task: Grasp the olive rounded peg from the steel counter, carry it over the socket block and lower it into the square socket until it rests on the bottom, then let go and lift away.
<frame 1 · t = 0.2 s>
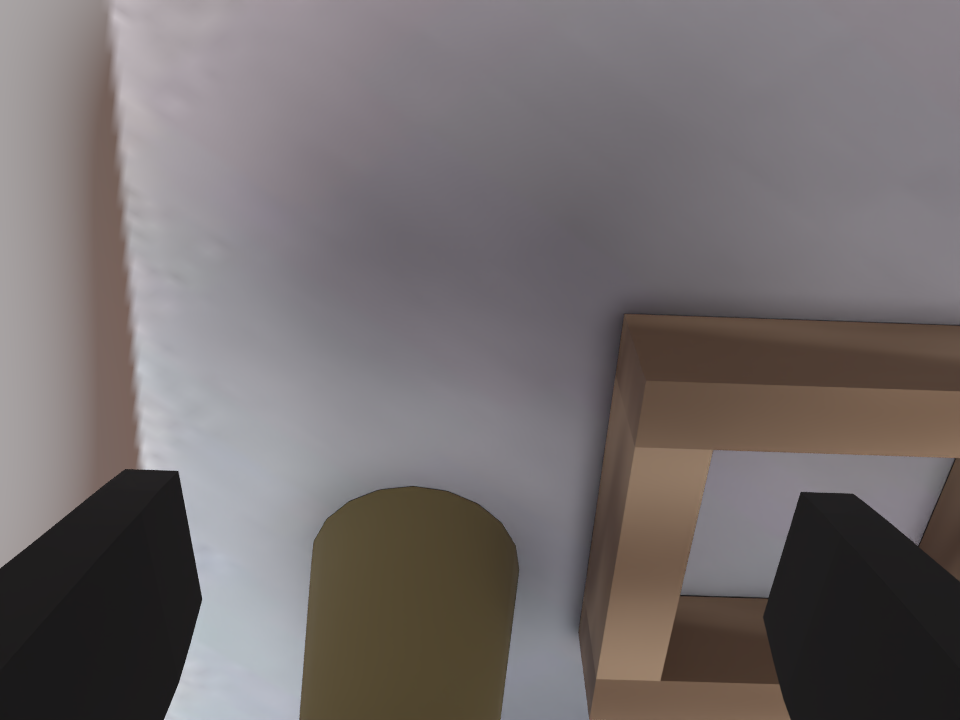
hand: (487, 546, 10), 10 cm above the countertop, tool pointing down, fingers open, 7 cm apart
socket block: (799, 500, 22), on the countertop
olive rounded peg: (415, 562, 24), on the countertop
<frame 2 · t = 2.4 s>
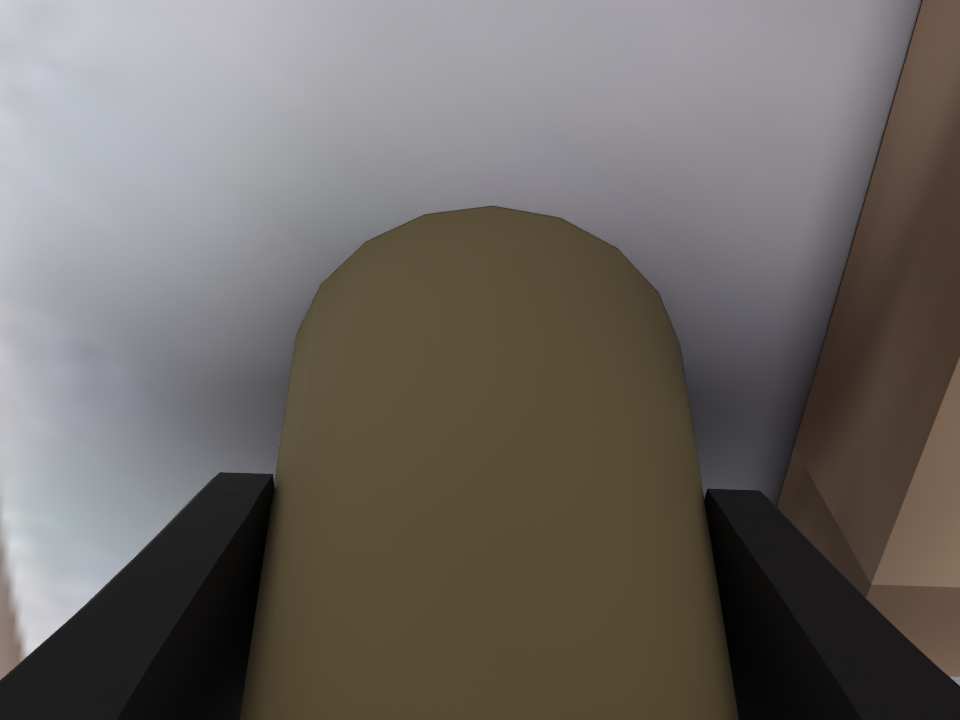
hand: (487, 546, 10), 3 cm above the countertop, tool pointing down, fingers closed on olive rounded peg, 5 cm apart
olive rounded peg: (486, 386, 13), on the countertop, touching gripper
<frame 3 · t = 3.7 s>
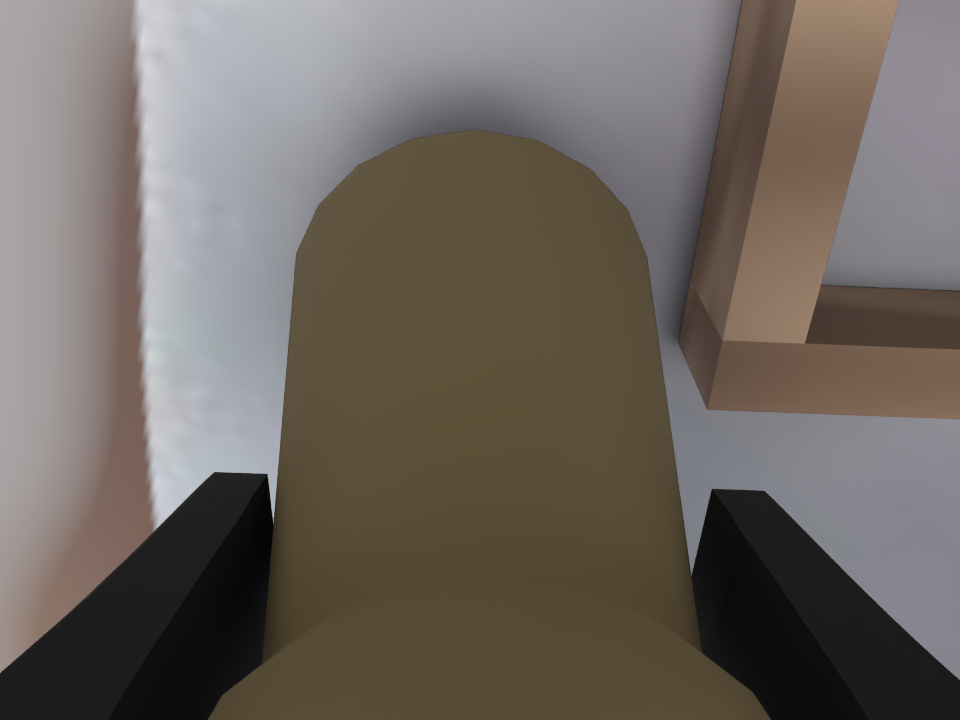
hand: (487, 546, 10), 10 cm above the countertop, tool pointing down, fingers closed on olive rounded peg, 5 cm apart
olive rounded peg: (471, 299, 14), point 5 cm above the countertop, touching gripper
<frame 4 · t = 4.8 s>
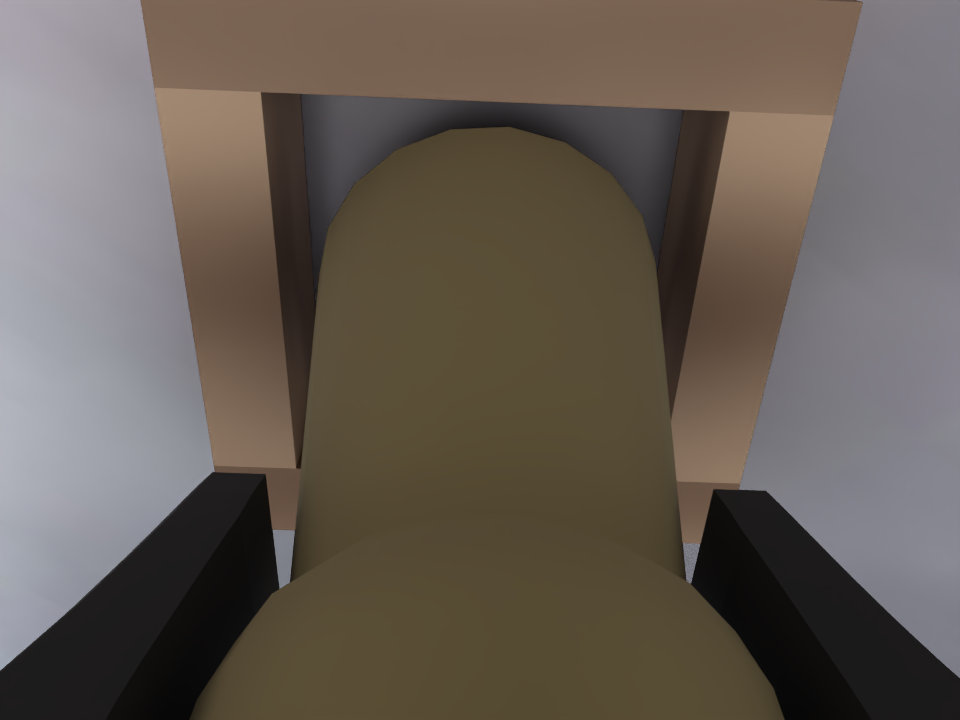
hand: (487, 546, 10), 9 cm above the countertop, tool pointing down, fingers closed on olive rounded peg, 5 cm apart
socket block: (485, 249, 18), on the countertop
olive rounded peg: (487, 287, 15), point 3 cm above the countertop, touching gripper
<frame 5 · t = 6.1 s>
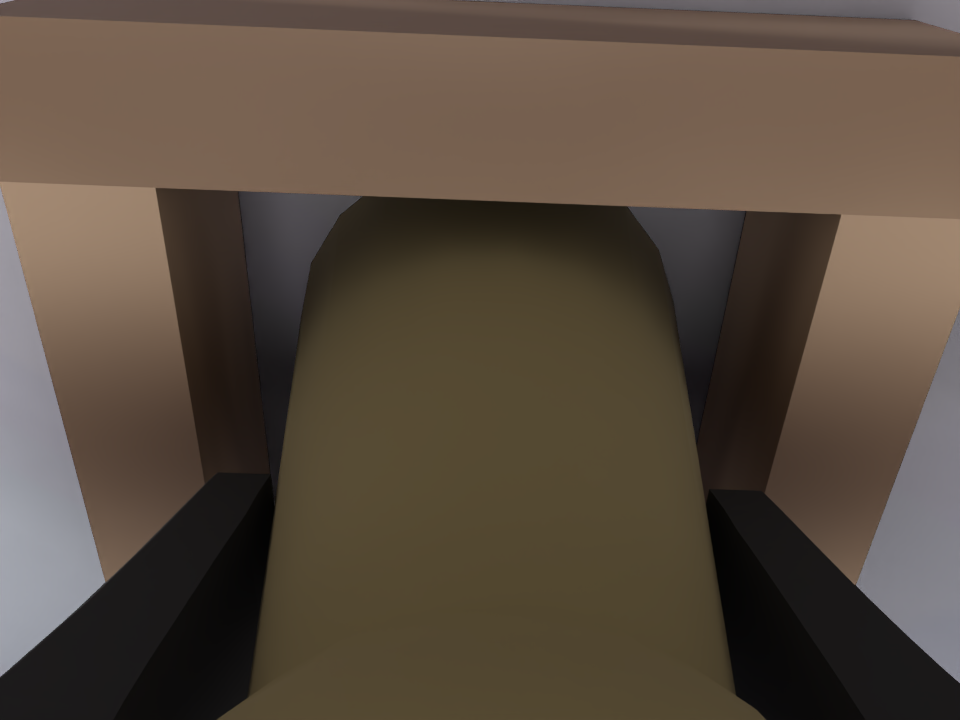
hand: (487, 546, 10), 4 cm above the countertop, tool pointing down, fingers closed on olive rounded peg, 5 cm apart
socket block: (485, 361, 13), on the countertop
olive rounded peg: (487, 328, 13), resting in socket block, touching gripper
when the fingers open (4 cm above the countertop, at t = 6.7 s): olive rounded peg stays where it is, resting in socket block.
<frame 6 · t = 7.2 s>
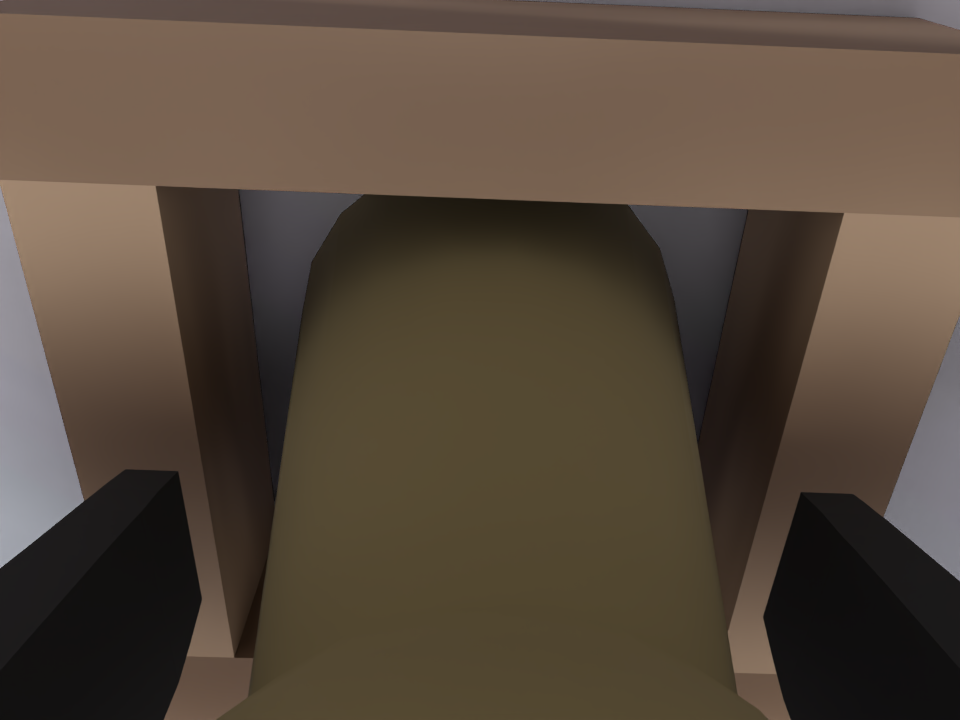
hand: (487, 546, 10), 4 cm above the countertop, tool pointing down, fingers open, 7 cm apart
socket block: (486, 360, 13), on the countertop
olive rounded peg: (488, 327, 13), resting in socket block
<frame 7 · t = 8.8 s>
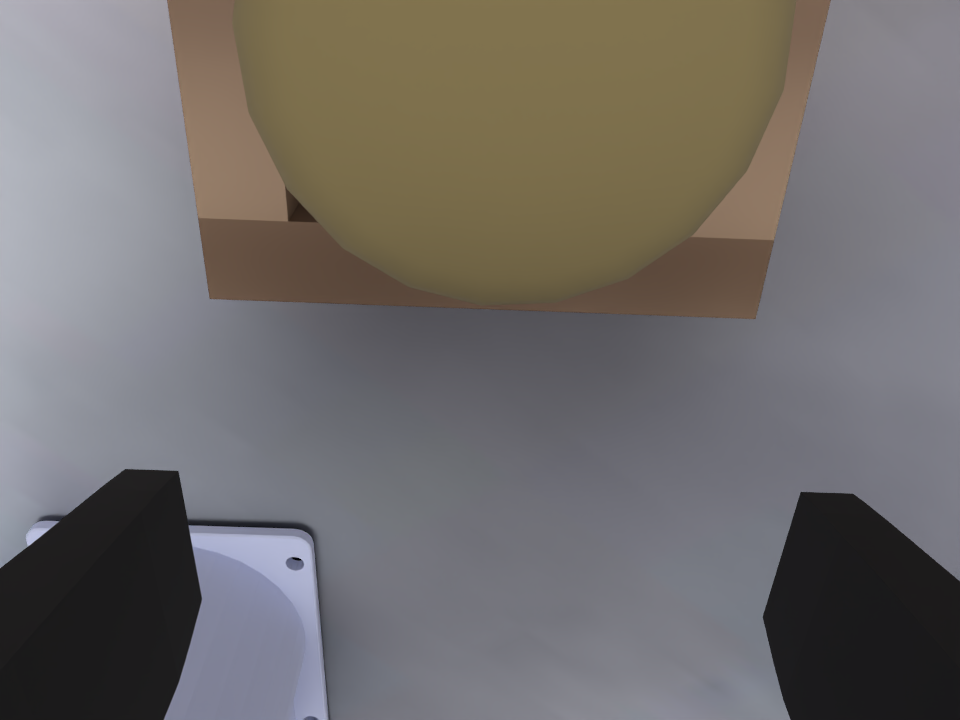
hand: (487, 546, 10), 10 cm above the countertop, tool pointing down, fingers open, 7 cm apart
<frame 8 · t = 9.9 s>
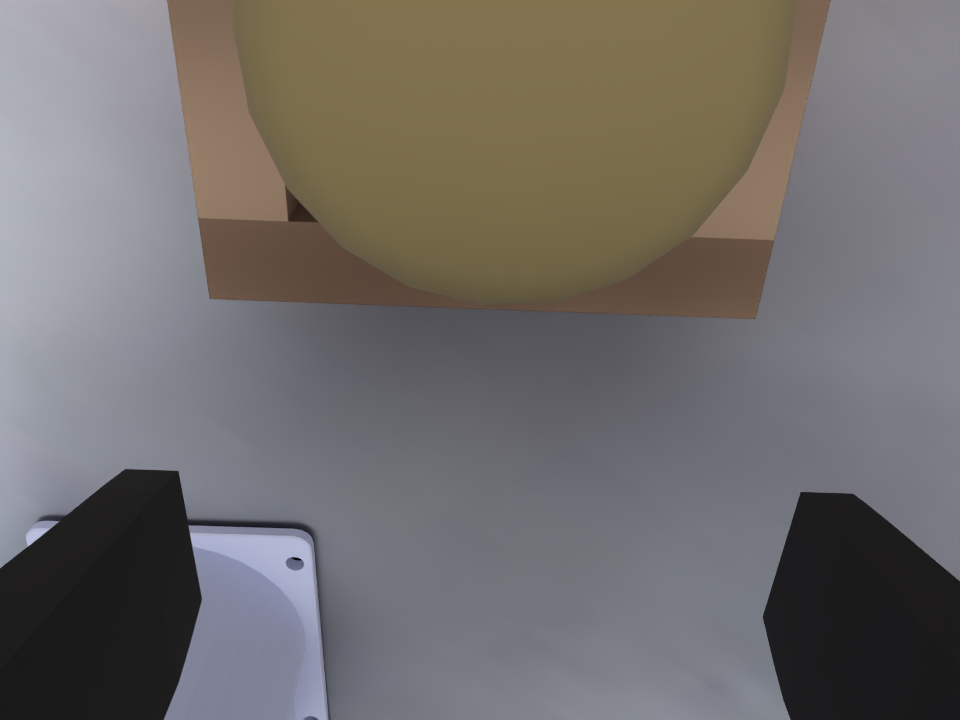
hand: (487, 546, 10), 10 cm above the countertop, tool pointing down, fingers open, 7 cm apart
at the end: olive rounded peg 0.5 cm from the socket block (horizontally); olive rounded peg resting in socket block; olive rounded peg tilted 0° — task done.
